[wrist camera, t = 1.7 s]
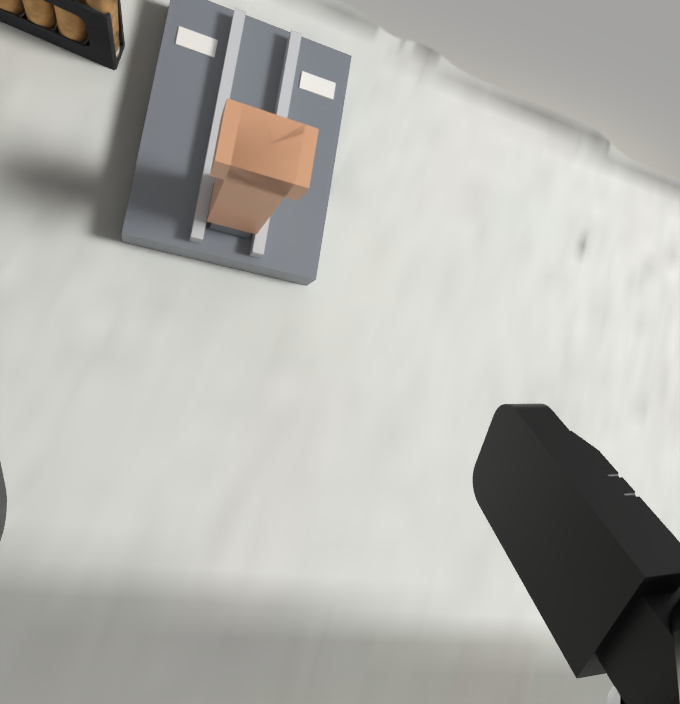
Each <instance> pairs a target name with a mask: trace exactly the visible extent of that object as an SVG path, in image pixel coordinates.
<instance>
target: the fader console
mask: <svg viewBox="0 0 680 704" xmlns="http://www.w3.org/2000/svg"><path fill="white" fill-rule="evenodd" d="M301 36H302V33H300V32H297V31H294V30H291V32H288V31H286V30H283V29H280V28H278V27H275V26H273V25H270V24H267V23H265V22H262V21H260V20H257V19H254V18H252V17H249V16H247V15H246V12H245V11H243V10H240V9H238V8H235V9H234V10H231V9H228V8H226V7H223V6H221V5H218V4H215V3H213V2H210V1H208V0H170V4H169V9H168V14H167V19H166V23H165V28H164V33H163V38H162V42H161V47H160V52H159V57H158V62H157V66H156V71H155V76H154V81H153V85H152V90H151V95H150V100H149V104H148V109H147V114H146V119H145V124H144V128H143V133H142V138H141V143H140V147H139V152H138V157H137V162H136V166H135V171H134V176H133V181H132V186H131V190H130V195H129V200H128V205H127V209H126V214H125V219H124V224H123V228H122V242H125V243H129V244H133V245H138V246H142V247H146V248H150V249H155V250H159V251H163V252H167V253H172V254H176V255H180V256H184V257H189V258H193V259H197V260H201V261H206V262H210V263H214V264H218V265H223V266H227V267H231V268H235V269H240V270H244V271H248V272H252V273H257V274H261V275H265V276H269V277H274V278H278V279H282V280H286V281H291V282H295V283H299V284H303V285H308V284H310V283H311V282H313V281H314V280H316V275H317V268H318V262H319V256H320V250H321V243H322V237H323V231H324V225H325V218H326V212H327V206H328V200H329V193H330V187H331V181H332V174H333V168H334V162H335V156H336V149H337V143H338V137H339V131H340V124H341V118H342V112H343V106H344V99H345V93H346V87H347V80H348V74H349V68H350V62H351V56H350V55H348V54H345V53H343V52H340V51H337V50H335V49H332V48H330V47H327V46H324V45H322V44H319V43H317V42H314V41H311V40H309V39H306V38H304V37H301ZM227 98H228V99H231V100H234V101H237V102H240V103H243V104H246V105H249V106H252V107H255V108H258V109H261V110H264V111H267V112H270V113H273V114H276V115H279V116H282V117H285V118H288V119H291V120H294V121H297V122H300V123H303V124H306V125H309V126H312V127H315V128H318V129H319V132H318V138H317V144H316V150H315V156H314V162H313V168H312V174H311V180H310V186H309V189H308V190H307V192H306V193H305V194H304V195H303V196H302V197H301V199H300V200H299V201H297V200H293V199H290V198H286V197H285V198H284V199H283V200H282V202H281V203H280V204H279V206H278V207H277V208H276V210H275V211H274V212H273V214H272V215H271V216H270V217H269V219H268V220H267V221H266V223H265V224H264V225H263V227H262V228H261V229H260V231H259V232H258V233H257V234H253V233H251V235H250V236H249V238H244V237H240V236H237V235H233V234H229V233H225V232H221V231H217V230H213V229H209V228H210V222H207V218H208V213H209V207H210V202H211V197H212V192H213V186H214V181H215V177H213V176H210V172H211V166H212V161H213V156H214V151H215V145H216V140H217V135H218V130H219V124H220V119H221V115H222V112H223V109H224V106H225V102H226V99H227Z"/></svg>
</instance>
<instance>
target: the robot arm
mask: <svg viewBox="0 0 680 704" xmlns="http://www.w3.org/2000/svg"><path fill="white" fill-rule="evenodd" d="M473 489H474V493H475V497H476V500H477V502H478V504H479V506H480V508H481V509H482V511H483V513H484V515H485V516H486V518H487V520H488V522H489V524H490V525H491V527H492V529H493V531H494V532H495V534H496V536H497V538H498V540H499V541H500V543H501V545H502V547H503V548H504V550H505V552H506V554H507V556H508V557H509V559H510V561H511V563H512V564H513V566H514V568H515V570H516V572H517V573H518V575H519V577H520V579H521V580H522V582H523V584H524V586H525V587H526V589H527V591H528V593H529V595H530V596H531V598H532V600H533V602H534V603H535V605H536V607H537V609H538V611H539V612H540V614H541V616H542V618H543V619H544V621H545V623H546V625H547V627H548V628H549V630H550V632H551V634H552V635H553V637H554V639H555V641H556V643H557V644H558V646H559V648H560V650H561V651H562V653H563V655H564V657H565V659H566V660H567V662H568V664H569V666H570V667H571V669H572V671H573V673H574V674H575V676H576V678H582V677H588V676H593V675H599V674H605V673H607V675H608V676H609V678H610V680H611V681H612V683H613V684H614V686H613V688H612V689H611V690H610V692H609V695H608V697H607V704H680V542H679V541H678V540H677V539H676V538H675V536H674V535H673V534H672V533H671V532H670V531H669V530H668V528H667V527H666V526H665V525H664V524H663V523H662V522H661V521H660V519H659V518H658V517H657V516H656V515H655V514H654V513H653V511H652V510H651V509H650V508H649V507H648V506H647V505H646V504H645V502H644V501H643V500H642V499H641V498H640V497H636V496H635V491H634V490H633V489H632V488H631V487H630V485H629V484H628V483H627V482H626V481H625V480H624V479H623V477H621V478H619V476H618V472H617V471H616V470H615V468H614V467H613V466H612V465H611V464H610V463H609V462H608V460H607V459H606V458H605V457H604V456H603V455H602V454H601V453H600V451H599V450H597V449H596V448H595V447H593V446H592V445H590V444H589V443H588V442H586V441H585V440H583V439H582V438H581V437H579V436H578V435H576V434H575V433H573V432H572V431H569V429H568V428H567V427H566V426H565V425H564V424H563V422H562V421H561V420H560V419H559V418H558V416H557V415H556V414H555V413H554V412H553V411H552V410H551V409H550V408H549V407H548V406H547V405H545V404H504V405H501V406H500V407H499V408H498V409H497V410H496V412H495V414H494V416H493V419H492V421H491V424H490V427H489V429H488V432H487V435H486V437H485V440H484V443H483V445H482V448H481V451H480V453H479V456H478V459H477V461H476V464H475V467H474V471H473ZM6 509H7V496H6V487H5V482H4V478H3V473H2V468H1V463H0V540H1V537H2V534H3V530H4V525H5V519H6Z"/></svg>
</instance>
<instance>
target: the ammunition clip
mask: <svg viewBox="0 0 680 704" xmlns="http://www.w3.org/2000/svg"><path fill="white" fill-rule="evenodd" d="M0 21H1V22H4V23H6V24H8V25H11V26H13V27H15V28H18V29H20V30H22V31H25V32H27V33H29V34H32V35H34V36H36V37H39V38H41V39H43V40H46V41H48V42H50V43H52V44H55V45H57V46H59V47H62V48H64V49H66V50H69V51H71V52H73V53H76V54H78V55H80V56H83V57H85V58H87V59H90V60H92V61H94V62H97V63H99V64H101V65H104V66H106V67H108V68H110V69H113V70H115V69H117V66H118V64H119V61H120V58H121V55H122V52H123V50H124V47H125V42H124V33H123V23H122V14H121V4H120V0H0Z"/></svg>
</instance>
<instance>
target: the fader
mask: <svg viewBox="0 0 680 704" xmlns="http://www.w3.org/2000/svg"><path fill="white" fill-rule="evenodd" d="M318 132H319V129H318V128H315V127H312V126H309V125H306V124H303V123H300V122H297V121H294V120H291V119H288V118H285V117H282V116H279V115H276V114H273V113H270V112H267V111H264V110H261V109H258V108H255V107H252V106H249V105H246V104H243V103H240V102H237V101H234V100H231V99H228V98H227V99H226V102H225V106H224V109H223V112H222V115H221V119H220V124H219V130H218V135H217V140H216V145H215V151H214V156H213V161H212V166H211V172H210V176H213V177H215V181H214V186H213V192H212V197H211V202H210V207H209V213H208V218H207V222H210V228H209V229H213V230H217V231H221V232H225V233H229V234H233V235H237V236H240V237H244V238H249V236H250V235H251V233H253V234H257V233H258V232H259V231H260V229H261V228H262V227H263V225H264V224H265V223H266V221H267V220H268V219H269V217H270V216H271V215H272V214H273V212H274V211H275V210H276V208H277V207H278V206H279V204H280V203H281V202H282V200H283V199H284V198H285V197H286V198H290V199H293V200H297V201H299V200H300V199H301V197H302V196H303V195H304V194H305V193H306V192H307V190H308V189H309V186H310V180H311V174H312V168H313V162H314V156H315V150H316V144H317V138H318Z"/></svg>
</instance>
